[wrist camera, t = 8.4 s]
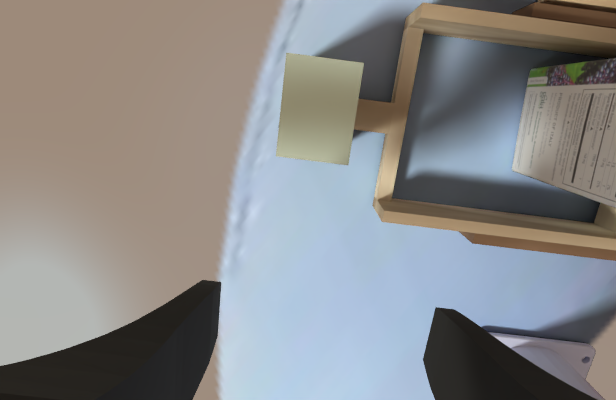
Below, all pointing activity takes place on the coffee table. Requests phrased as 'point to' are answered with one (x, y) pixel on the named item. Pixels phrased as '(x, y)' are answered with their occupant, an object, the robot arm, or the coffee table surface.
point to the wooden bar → (585, 4)
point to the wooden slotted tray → (392, 116)
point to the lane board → (572, 17)
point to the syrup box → (571, 129)
